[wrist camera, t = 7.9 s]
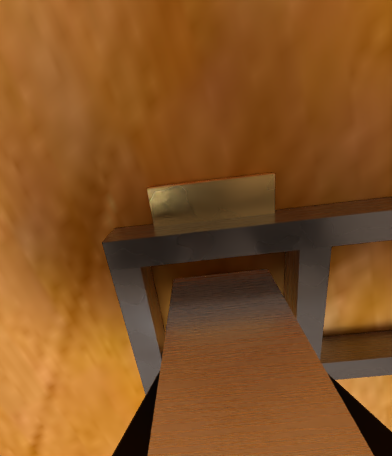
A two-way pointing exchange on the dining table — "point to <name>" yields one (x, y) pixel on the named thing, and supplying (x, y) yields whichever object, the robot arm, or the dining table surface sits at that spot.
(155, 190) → the rail frame
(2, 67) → the dining table surface
